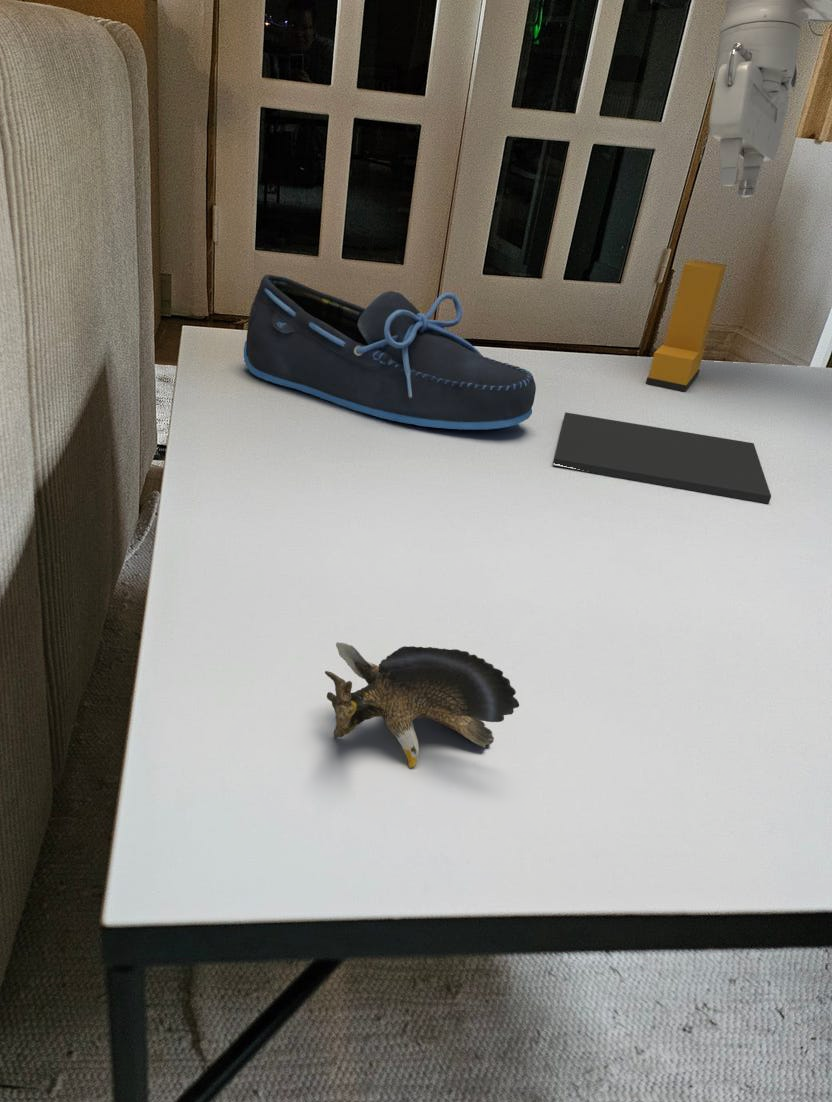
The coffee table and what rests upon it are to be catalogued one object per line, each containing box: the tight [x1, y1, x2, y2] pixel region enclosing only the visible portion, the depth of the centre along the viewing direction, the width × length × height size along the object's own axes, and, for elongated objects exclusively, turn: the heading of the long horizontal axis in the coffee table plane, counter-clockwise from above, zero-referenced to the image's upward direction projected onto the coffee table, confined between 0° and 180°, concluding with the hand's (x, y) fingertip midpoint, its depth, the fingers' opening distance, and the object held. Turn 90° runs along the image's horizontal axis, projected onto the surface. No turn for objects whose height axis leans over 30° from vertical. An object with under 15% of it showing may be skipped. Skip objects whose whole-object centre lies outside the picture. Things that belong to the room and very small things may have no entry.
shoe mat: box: [552, 411, 772, 505], centre depth 95 cm, size 20×16×1 cm
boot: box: [645, 258, 727, 393], centre depth 119 cm, size 10×5×14 cm, turn 153°
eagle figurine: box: [324, 642, 520, 768], centre depth 49 cm, size 8×7×9 cm
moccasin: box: [243, 274, 537, 431], centre depth 100 cm, size 14×34×12 cm, turn 65°
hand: (737, 191), depth 115 cm, fingers open, 8 cm apart
